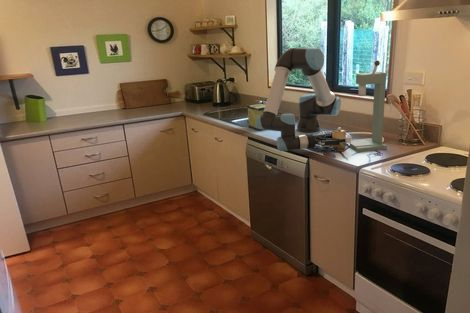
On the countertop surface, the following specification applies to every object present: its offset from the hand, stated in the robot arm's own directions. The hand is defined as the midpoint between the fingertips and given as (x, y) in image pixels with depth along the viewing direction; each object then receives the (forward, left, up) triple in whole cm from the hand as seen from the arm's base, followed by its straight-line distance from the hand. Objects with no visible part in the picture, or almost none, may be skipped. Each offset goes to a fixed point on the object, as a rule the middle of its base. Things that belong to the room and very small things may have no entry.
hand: (347, 137), depth 198 cm
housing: (0, -5, -6) cm, 8 cm away
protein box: (-64, -36, -6) cm, 74 cm away
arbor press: (0, +10, -6) cm, 12 cm away
